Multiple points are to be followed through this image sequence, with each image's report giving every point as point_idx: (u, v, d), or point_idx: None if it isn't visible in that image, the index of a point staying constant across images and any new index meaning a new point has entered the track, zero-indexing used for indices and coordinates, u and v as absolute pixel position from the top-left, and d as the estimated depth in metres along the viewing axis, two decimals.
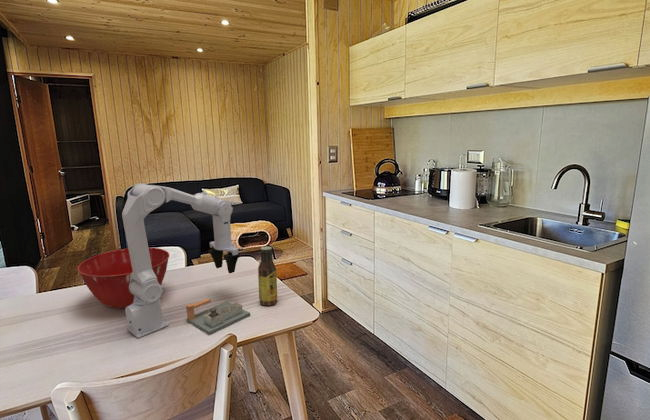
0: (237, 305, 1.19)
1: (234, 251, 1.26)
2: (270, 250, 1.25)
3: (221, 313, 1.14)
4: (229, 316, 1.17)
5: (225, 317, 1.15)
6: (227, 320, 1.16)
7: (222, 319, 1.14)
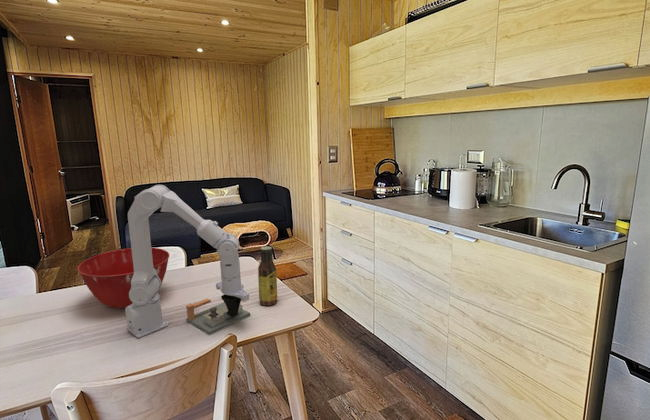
0: None
1: (244, 297, 1.10)
2: (270, 250, 1.25)
3: (221, 313, 1.14)
4: (229, 316, 1.17)
5: (225, 317, 1.15)
6: (227, 320, 1.16)
7: (222, 319, 1.14)
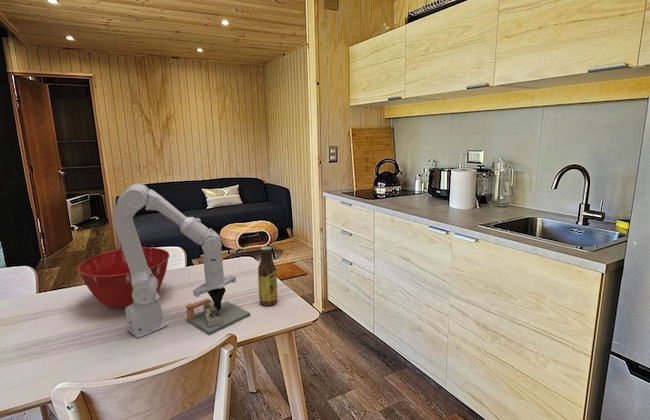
0: (210, 303, 1.21)
1: (193, 291, 1.14)
2: (270, 250, 1.25)
3: (216, 311, 1.16)
4: None
5: None
6: (227, 320, 1.16)
7: None
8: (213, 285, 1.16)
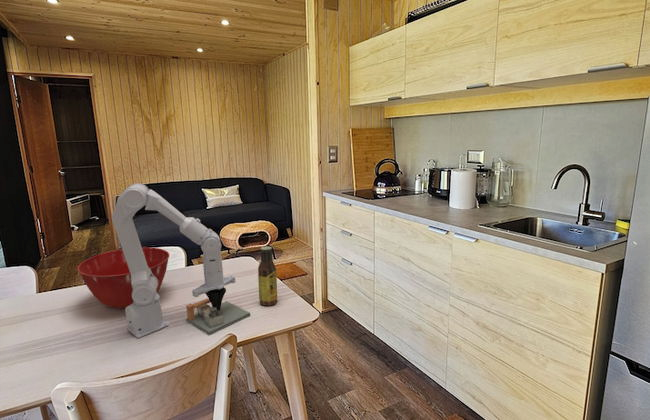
0: None
1: (192, 292, 1.14)
2: (270, 250, 1.25)
3: None
4: None
5: None
6: (227, 320, 1.16)
7: None
8: (212, 285, 1.16)
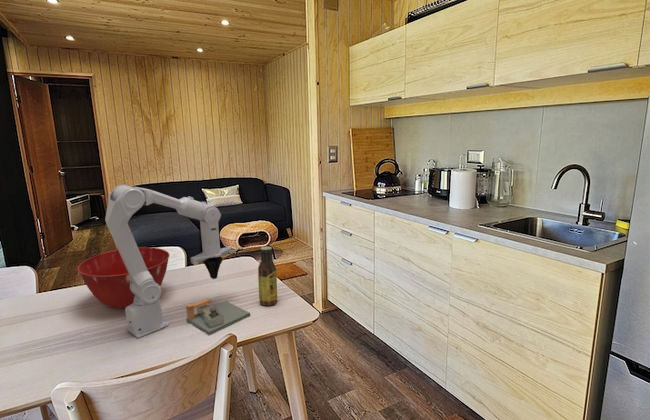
0: None
1: (191, 259, 1.21)
2: (270, 250, 1.25)
3: None
4: None
5: None
6: (227, 320, 1.16)
7: None
8: (210, 254, 1.23)
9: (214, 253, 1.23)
